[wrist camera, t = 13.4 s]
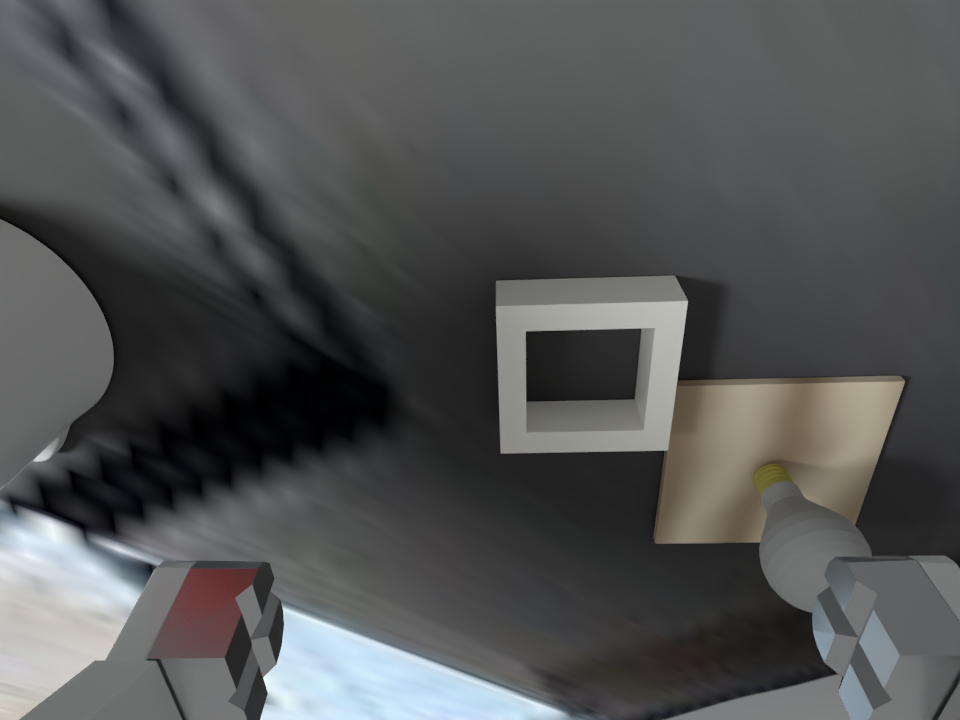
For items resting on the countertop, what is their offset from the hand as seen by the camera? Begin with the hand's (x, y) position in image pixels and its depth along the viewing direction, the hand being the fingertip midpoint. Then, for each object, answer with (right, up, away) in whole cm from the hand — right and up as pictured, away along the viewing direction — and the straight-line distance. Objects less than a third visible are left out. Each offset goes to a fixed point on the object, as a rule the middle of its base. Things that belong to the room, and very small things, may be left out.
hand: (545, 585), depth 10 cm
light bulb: (+17, -3, +33) cm, 37 cm away
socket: (+5, +4, +29) cm, 30 cm away
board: (+17, -3, +33) cm, 37 cm away
